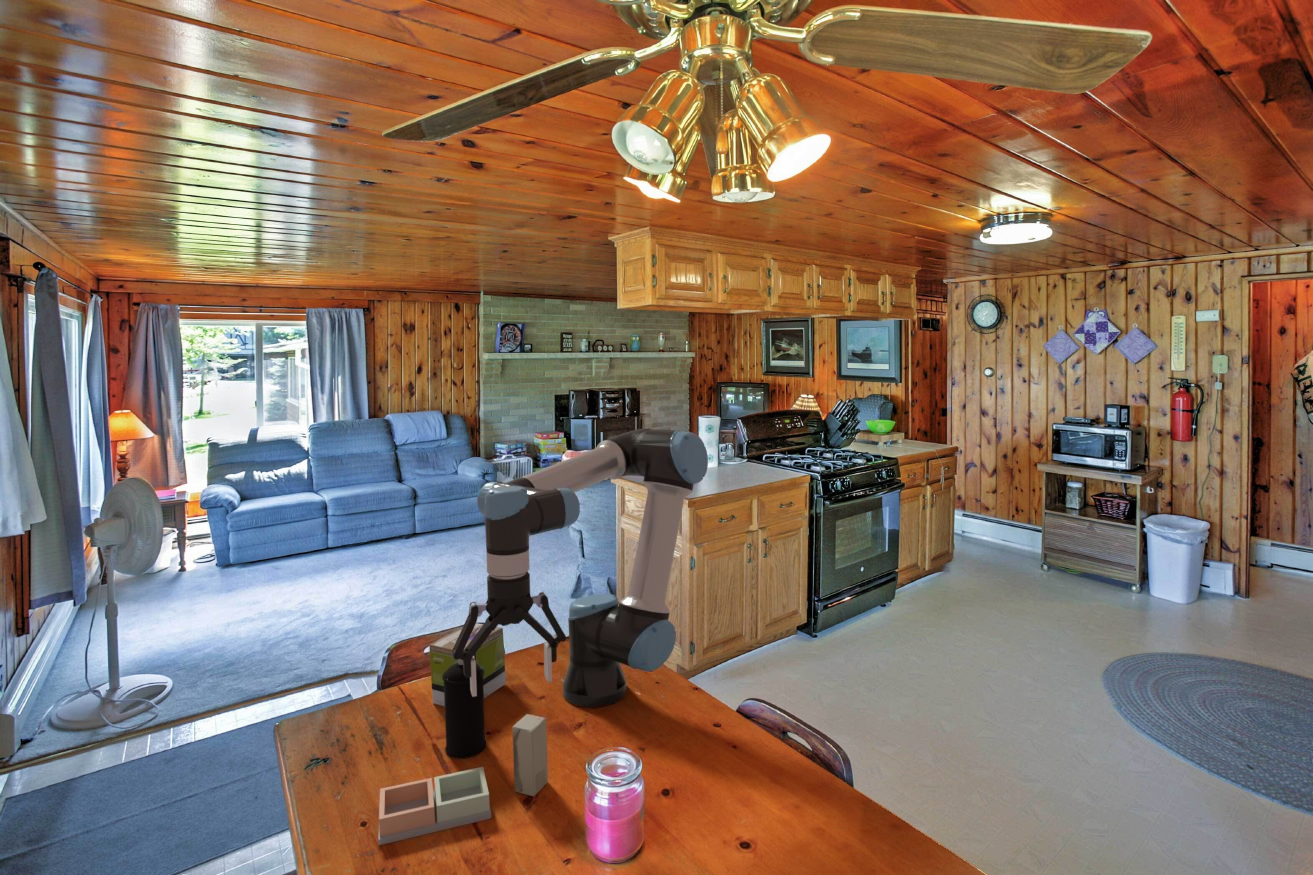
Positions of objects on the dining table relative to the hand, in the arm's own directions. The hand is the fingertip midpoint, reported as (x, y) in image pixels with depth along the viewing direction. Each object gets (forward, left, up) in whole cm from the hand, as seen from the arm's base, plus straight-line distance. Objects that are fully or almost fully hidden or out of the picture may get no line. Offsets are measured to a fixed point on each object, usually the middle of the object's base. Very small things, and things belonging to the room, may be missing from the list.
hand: (511, 686), depth 122 cm
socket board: (+14, +3, -19) cm, 24 cm away
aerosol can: (+7, -16, -20) cm, 26 cm away
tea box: (+4, -39, -20) cm, 44 cm away
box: (-3, +2, -20) cm, 20 cm away
